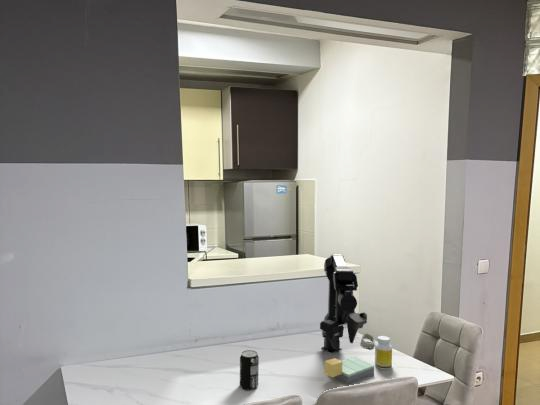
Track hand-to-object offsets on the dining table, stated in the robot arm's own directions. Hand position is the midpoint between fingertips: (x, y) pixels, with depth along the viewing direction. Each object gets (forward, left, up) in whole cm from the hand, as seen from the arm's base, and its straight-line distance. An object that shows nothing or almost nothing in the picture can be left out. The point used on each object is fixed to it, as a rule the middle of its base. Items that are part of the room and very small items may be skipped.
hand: (342, 345), depth 152 cm
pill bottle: (+1, +22, -13) cm, 26 cm away
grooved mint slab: (-1, +4, -10) cm, 11 cm away
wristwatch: (-18, +35, -13) cm, 42 cm away
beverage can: (-15, -31, -13) cm, 37 cm away
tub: (-1, +6, -13) cm, 14 cm away
